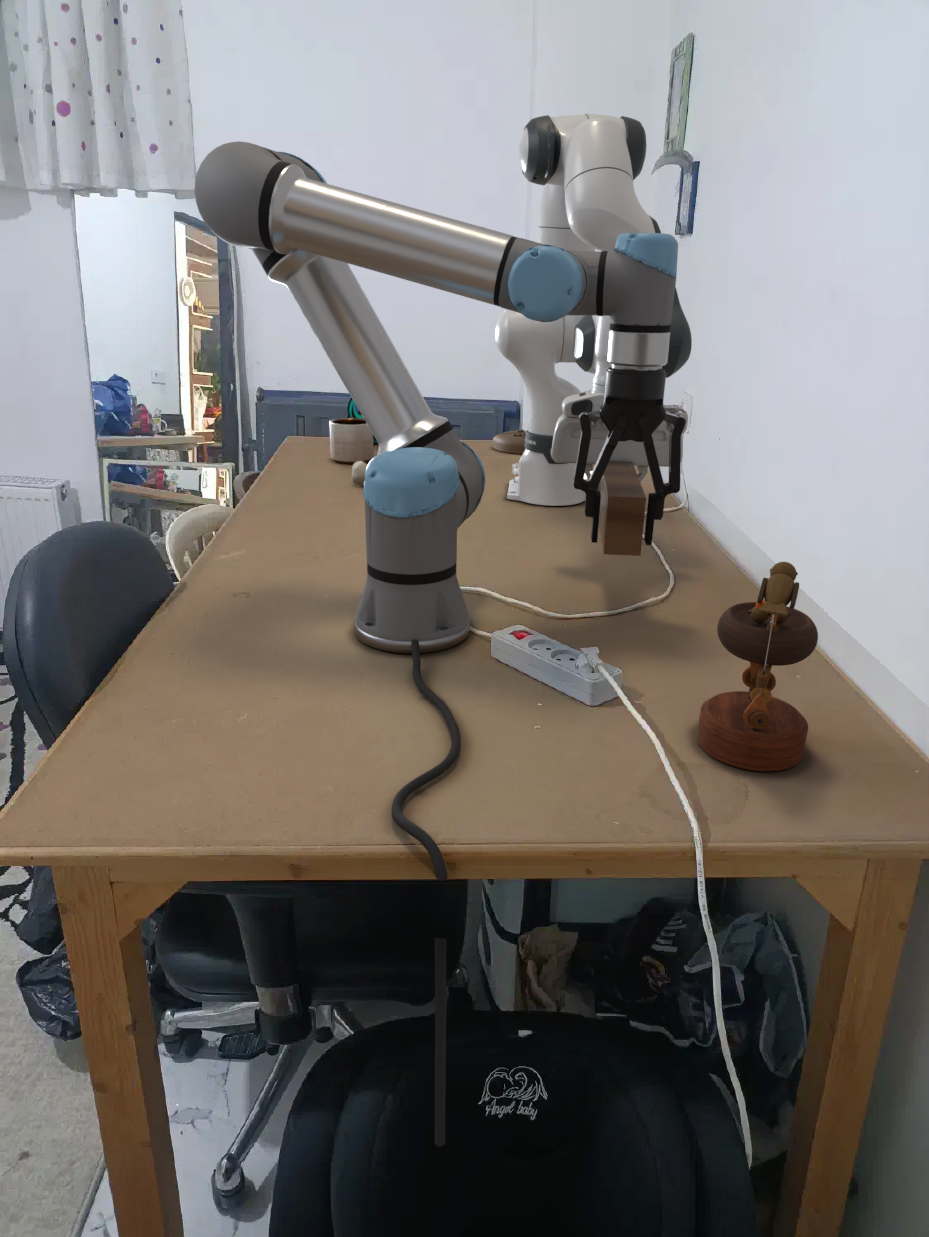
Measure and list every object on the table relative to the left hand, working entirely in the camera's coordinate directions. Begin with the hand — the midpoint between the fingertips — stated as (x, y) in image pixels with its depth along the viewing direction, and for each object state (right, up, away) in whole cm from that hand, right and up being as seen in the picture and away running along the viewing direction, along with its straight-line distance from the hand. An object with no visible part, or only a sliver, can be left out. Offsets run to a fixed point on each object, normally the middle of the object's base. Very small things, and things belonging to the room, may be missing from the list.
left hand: (620, 540), depth 116 cm
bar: (+1, +3, +10) cm, 10 cm away
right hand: (+2, +9, +18) cm, 21 cm away
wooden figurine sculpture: (+8, -23, -28) cm, 38 cm away
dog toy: (-37, +20, +75) cm, 86 cm away
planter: (-50, +29, +98) cm, 114 cm away
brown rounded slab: (-3, +34, +110) cm, 115 cm away
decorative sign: (-49, +38, +119) cm, 134 cm away
